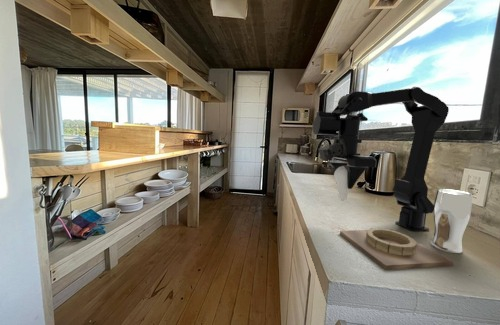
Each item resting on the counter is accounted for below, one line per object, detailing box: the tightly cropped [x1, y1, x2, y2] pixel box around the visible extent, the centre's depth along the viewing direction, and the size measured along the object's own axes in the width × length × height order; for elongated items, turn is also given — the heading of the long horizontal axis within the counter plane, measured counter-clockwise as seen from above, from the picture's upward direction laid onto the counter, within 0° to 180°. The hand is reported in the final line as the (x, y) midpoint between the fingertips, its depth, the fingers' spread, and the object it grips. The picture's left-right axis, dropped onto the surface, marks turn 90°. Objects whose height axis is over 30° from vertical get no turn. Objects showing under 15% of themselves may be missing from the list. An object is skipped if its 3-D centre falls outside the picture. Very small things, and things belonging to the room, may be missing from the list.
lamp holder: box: [339, 227, 454, 271], centre depth 54 cm, size 17×17×3 cm
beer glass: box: [430, 188, 473, 254], centre depth 55 cm, size 7×7×15 cm
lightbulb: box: [333, 166, 350, 202], centre depth 66 cm, size 6×6×11 cm
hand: (343, 186), depth 66 cm, fingers closed on lightbulb, 6 cm apart
